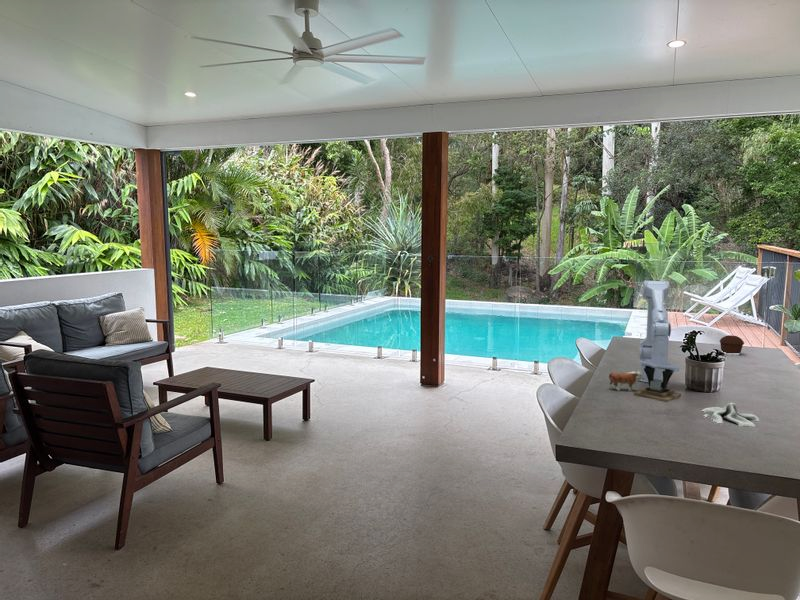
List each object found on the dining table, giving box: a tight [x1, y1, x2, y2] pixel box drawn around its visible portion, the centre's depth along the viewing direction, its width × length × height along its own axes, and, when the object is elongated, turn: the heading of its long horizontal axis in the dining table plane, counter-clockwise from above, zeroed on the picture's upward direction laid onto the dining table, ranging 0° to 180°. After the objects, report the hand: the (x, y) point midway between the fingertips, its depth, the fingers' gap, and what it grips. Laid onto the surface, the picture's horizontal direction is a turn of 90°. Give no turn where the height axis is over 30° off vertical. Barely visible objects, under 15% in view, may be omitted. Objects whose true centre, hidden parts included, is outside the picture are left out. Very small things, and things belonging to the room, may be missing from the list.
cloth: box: [701, 402, 760, 428], centre depth 197 cm, size 22×19×6 cm
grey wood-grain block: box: [650, 379, 666, 393], centre depth 226 cm, size 5×4×5 cm
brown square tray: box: [633, 386, 682, 403], centre depth 226 cm, size 13×13×2 cm
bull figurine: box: [608, 370, 644, 392], centre depth 233 cm, size 4×13×8 cm, turn 79°
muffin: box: [719, 334, 745, 353], centre depth 310 cm, size 12×11×10 cm
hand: (657, 386), depth 226 cm, fingers open, 5 cm apart
